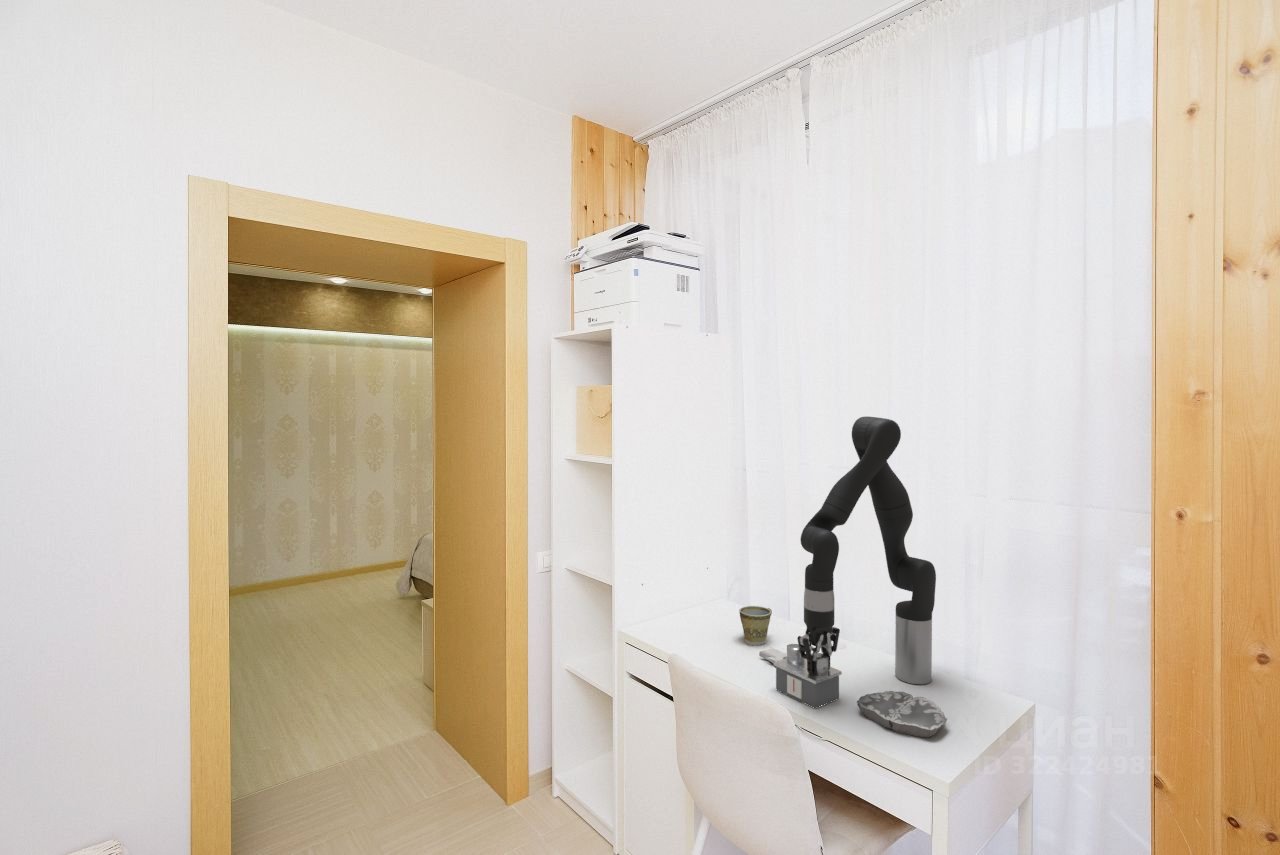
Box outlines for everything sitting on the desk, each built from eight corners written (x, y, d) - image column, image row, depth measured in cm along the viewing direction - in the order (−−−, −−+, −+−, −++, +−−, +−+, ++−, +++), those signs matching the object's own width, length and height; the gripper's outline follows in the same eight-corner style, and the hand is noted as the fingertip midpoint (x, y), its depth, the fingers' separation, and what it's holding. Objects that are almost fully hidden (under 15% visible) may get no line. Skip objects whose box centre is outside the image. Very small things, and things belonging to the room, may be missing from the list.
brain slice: (957, 720, 150) (957, 707, 149) (933, 748, 137) (933, 735, 137) (876, 694, 163) (877, 683, 163) (848, 718, 151) (848, 706, 150)
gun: (751, 650, 184) (772, 642, 190) (750, 662, 184) (772, 653, 190) (803, 674, 170) (824, 664, 176) (802, 686, 170) (823, 676, 176)
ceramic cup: (756, 650, 193) (756, 618, 192) (732, 640, 200) (732, 610, 200) (783, 640, 201) (783, 609, 201) (759, 631, 209) (759, 601, 208)
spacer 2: (808, 667, 162) (808, 652, 162) (827, 668, 161) (827, 653, 161) (810, 674, 158) (810, 659, 158) (829, 676, 157) (829, 660, 157)
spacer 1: (786, 657, 169) (786, 643, 168) (804, 659, 168) (804, 644, 168) (787, 664, 164) (787, 649, 164) (805, 666, 163) (805, 650, 163)
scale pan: (773, 665, 166) (773, 662, 166) (799, 656, 171) (799, 653, 171) (815, 684, 154) (815, 681, 154) (841, 674, 160) (841, 671, 160)
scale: (774, 690, 165) (774, 667, 165) (799, 680, 171) (799, 659, 171) (813, 709, 155) (813, 685, 154) (838, 698, 160) (839, 675, 160)
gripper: (811, 615, 152) (811, 684, 152) (849, 604, 160) (849, 670, 161) (788, 607, 158) (788, 673, 159) (825, 597, 166) (825, 660, 167)
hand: (818, 671), depth 160 cm, fingers closed on spacer 2, 4 cm apart
